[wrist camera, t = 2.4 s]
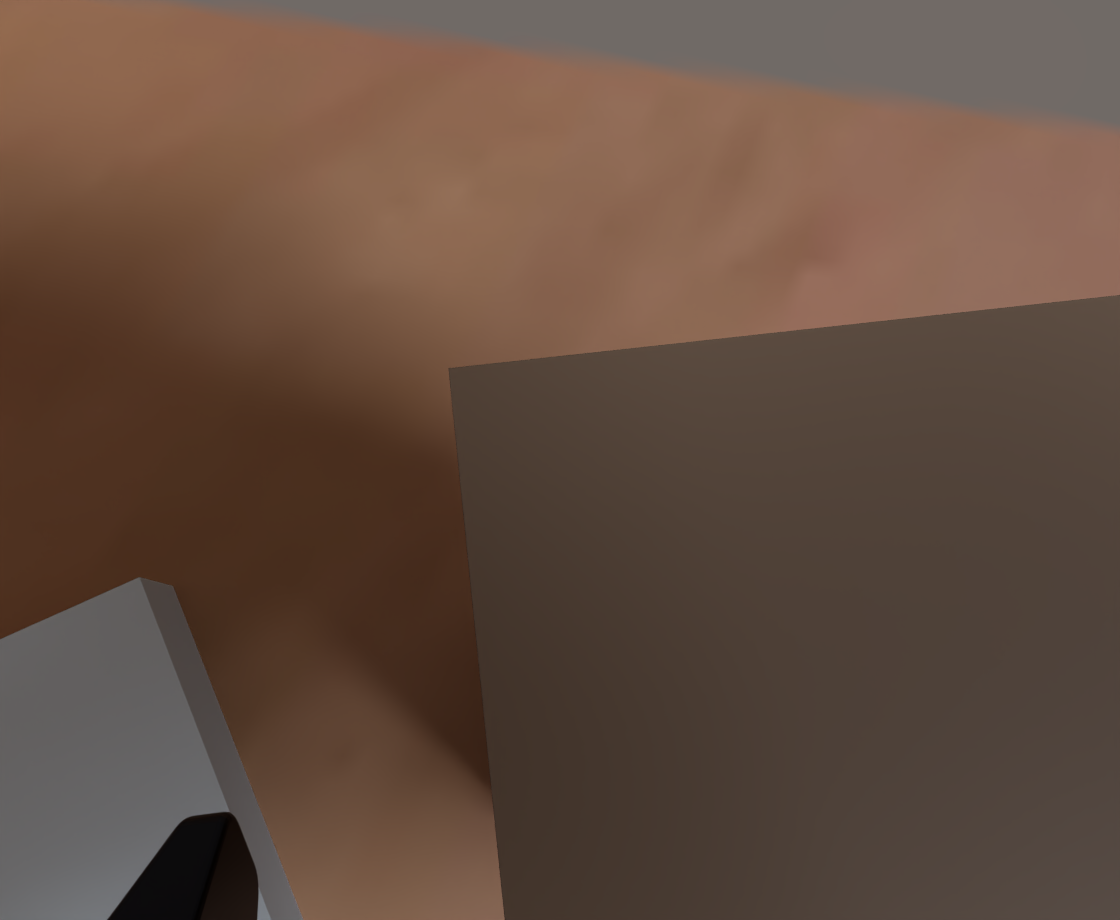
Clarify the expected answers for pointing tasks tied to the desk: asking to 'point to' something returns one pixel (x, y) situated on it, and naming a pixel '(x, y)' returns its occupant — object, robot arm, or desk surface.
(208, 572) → the desk surface
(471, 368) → the walnut block
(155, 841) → the grey slab
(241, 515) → the desk surface
